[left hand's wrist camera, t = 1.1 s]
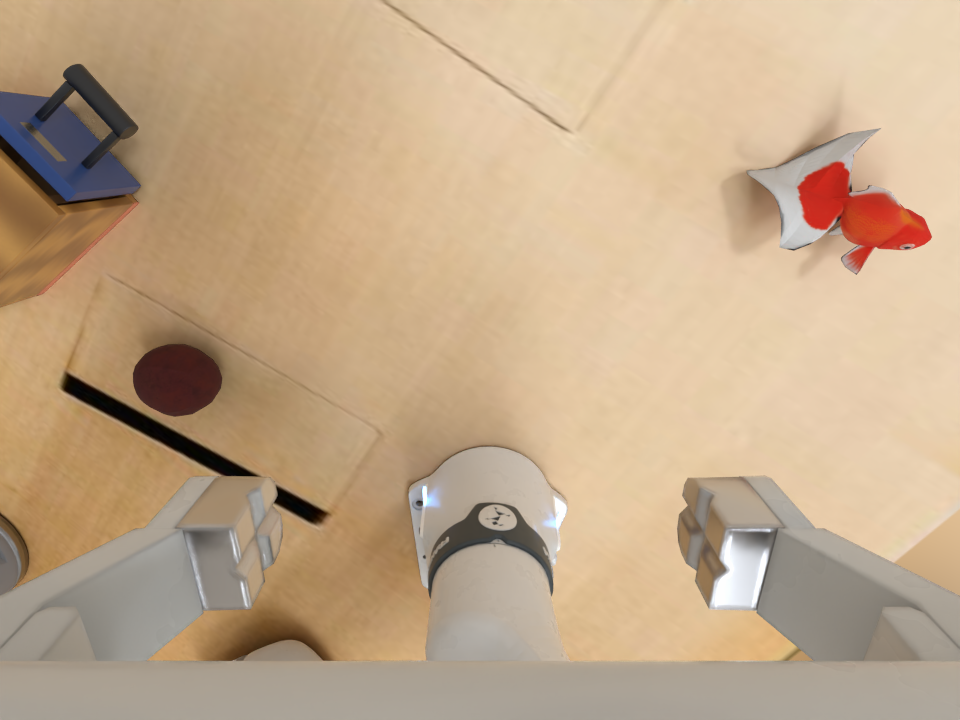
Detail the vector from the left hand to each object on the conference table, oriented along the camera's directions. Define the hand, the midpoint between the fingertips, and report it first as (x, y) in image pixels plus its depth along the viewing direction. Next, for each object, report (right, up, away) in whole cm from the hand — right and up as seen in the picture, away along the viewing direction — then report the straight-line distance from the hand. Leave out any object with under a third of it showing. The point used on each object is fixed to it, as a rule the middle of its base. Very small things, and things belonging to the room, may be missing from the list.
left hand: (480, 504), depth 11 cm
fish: (+31, +18, +40) cm, 54 cm away
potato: (-30, +2, +46) cm, 55 cm away
